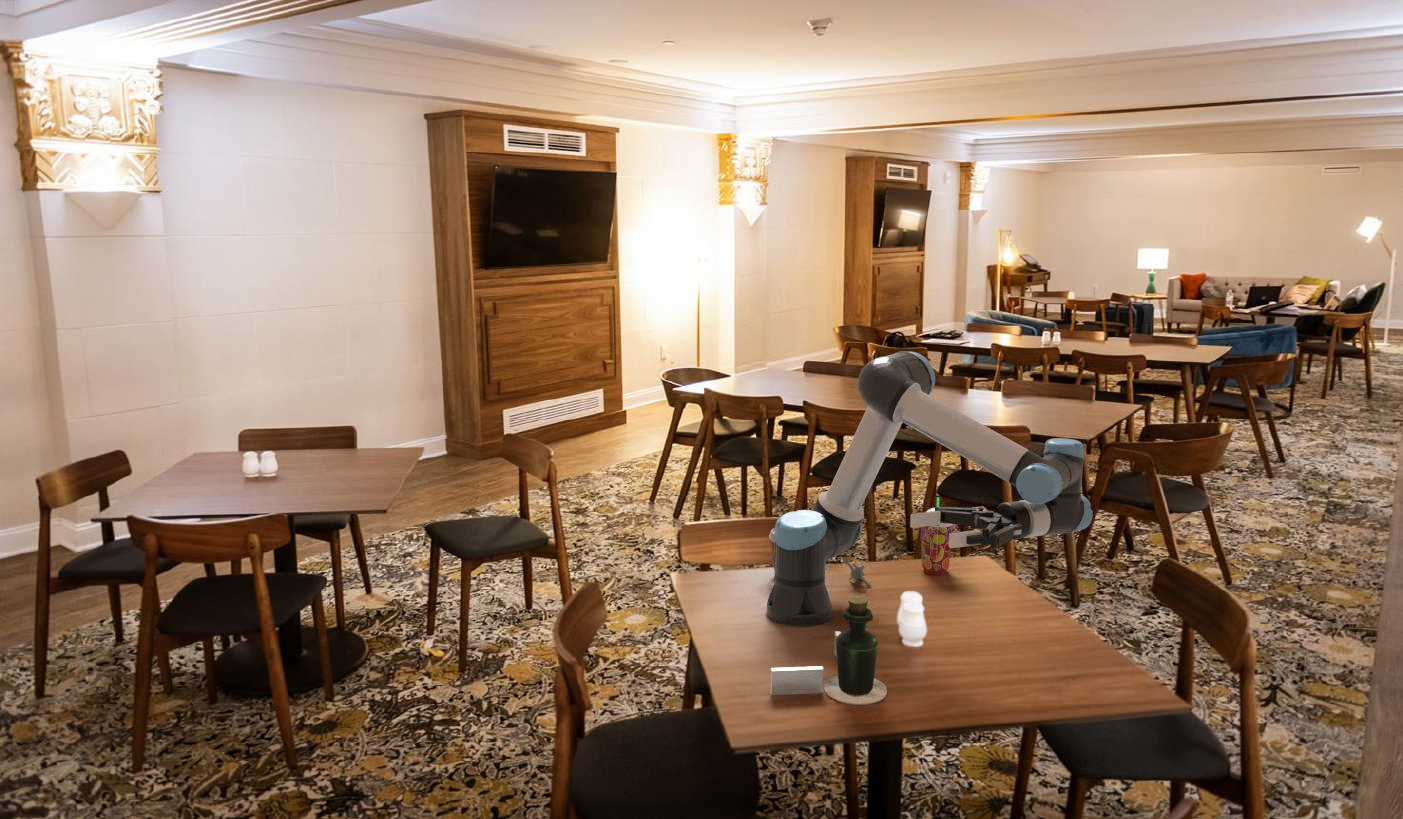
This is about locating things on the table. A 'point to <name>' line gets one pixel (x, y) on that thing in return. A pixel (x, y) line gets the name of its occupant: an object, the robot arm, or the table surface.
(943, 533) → the smoothie
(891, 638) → the table surface
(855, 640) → the potion bottle
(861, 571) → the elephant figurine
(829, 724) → the table surface
